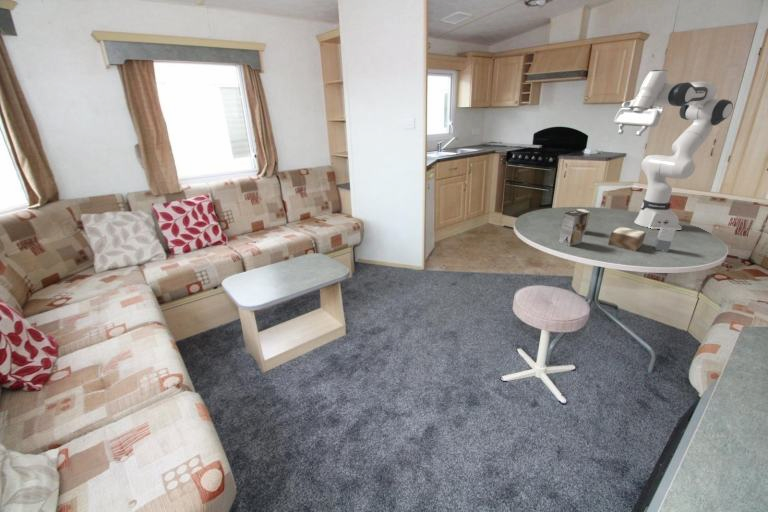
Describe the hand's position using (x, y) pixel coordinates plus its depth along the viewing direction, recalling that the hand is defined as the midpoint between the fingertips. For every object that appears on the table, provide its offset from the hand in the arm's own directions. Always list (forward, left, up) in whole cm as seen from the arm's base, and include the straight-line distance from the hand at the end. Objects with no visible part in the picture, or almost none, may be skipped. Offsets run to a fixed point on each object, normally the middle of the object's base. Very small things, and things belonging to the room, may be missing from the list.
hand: (628, 134), depth 176 cm
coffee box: (+18, +22, -52) cm, 59 cm away
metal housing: (-23, +16, -51) cm, 58 cm away
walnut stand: (-8, +15, -51) cm, 54 cm away
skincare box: (+12, +2, -52) cm, 53 cm away
